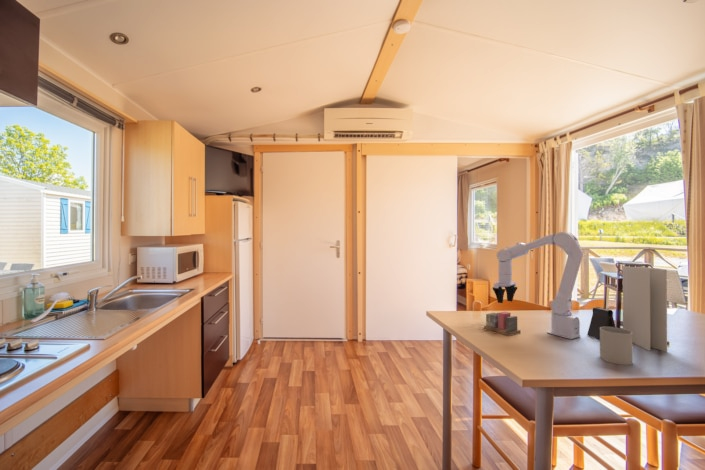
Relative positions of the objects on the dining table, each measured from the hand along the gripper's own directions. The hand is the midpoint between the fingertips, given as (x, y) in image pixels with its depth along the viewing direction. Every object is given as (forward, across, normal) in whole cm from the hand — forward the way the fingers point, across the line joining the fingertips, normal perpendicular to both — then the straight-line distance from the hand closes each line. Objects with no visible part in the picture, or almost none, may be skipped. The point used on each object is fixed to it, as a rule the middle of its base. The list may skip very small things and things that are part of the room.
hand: (505, 301), depth 144 cm
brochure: (+11, -21, +44) cm, 50 cm away
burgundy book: (+9, +12, +8) cm, 17 cm away
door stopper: (+11, -18, +32) cm, 38 cm away
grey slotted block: (+10, +12, +6) cm, 17 cm away
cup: (+11, +7, +45) cm, 47 cm away
